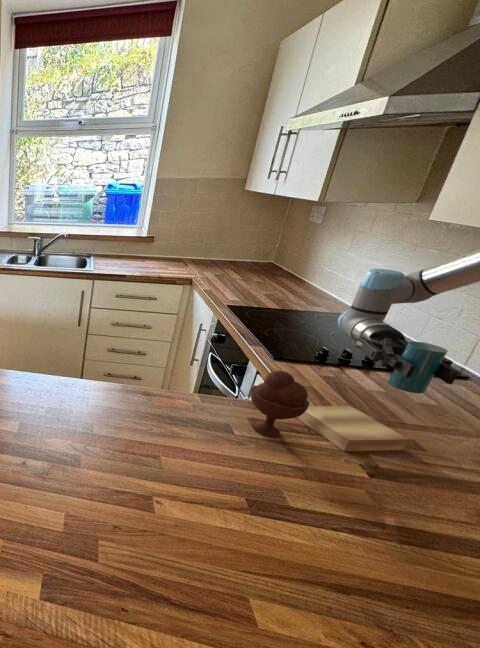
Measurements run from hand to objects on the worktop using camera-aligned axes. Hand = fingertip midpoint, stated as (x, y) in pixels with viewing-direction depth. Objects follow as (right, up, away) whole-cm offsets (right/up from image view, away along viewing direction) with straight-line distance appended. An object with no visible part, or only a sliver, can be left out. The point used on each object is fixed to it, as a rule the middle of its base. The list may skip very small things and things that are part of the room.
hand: (431, 374), depth 84 cm
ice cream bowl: (-27, -14, +11) cm, 32 cm away
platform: (-8, -14, +11) cm, 20 cm away
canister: (+2, -3, +7) cm, 8 cm away
